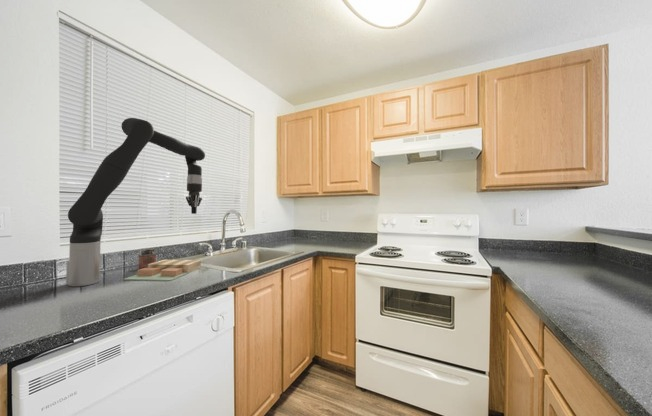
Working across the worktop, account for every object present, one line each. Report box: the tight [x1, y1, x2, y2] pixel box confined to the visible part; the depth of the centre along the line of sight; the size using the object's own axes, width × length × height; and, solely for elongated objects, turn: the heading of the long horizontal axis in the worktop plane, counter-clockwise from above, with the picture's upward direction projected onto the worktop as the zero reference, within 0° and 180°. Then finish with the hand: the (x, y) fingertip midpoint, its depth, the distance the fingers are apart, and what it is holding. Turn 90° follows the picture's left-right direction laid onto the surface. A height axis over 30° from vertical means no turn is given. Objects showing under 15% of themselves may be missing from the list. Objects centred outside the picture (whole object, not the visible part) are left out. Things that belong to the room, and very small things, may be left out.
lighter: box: [137, 248, 157, 270], centre depth 131 cm, size 8×3×10 cm, turn 147°
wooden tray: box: [148, 259, 202, 274], centre depth 127 cm, size 20×12×4 cm, turn 89°
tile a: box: [136, 268, 160, 276], centre depth 116 cm, size 7×5×2 cm
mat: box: [123, 272, 189, 282], centre depth 114 cm, size 21×13×1 cm, turn 89°
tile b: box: [161, 268, 182, 276], centre depth 116 cm, size 7×5×2 cm
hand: (193, 213), depth 140 cm, fingers closed
